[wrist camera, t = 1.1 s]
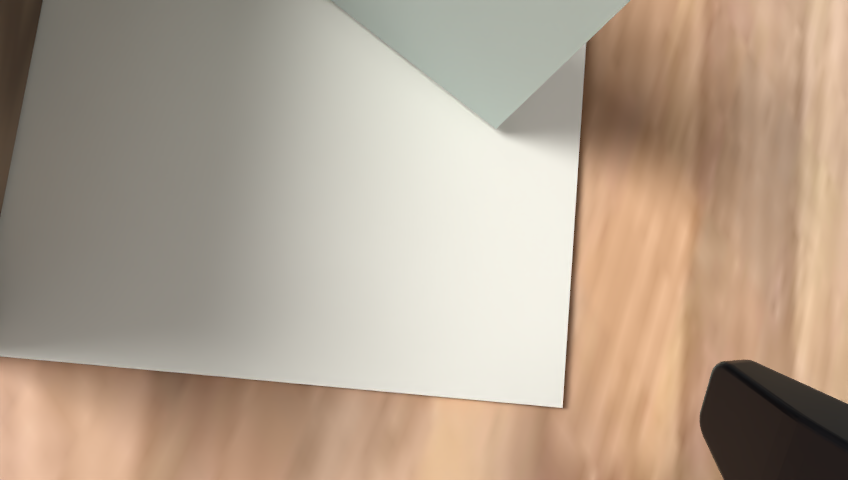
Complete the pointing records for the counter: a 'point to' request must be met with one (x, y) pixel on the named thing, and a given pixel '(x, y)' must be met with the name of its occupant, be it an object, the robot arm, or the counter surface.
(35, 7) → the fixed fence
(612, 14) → the hinged panel
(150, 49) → the card
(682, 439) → the counter surface
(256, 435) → the counter surface
